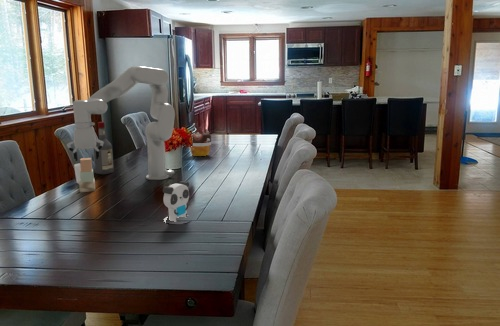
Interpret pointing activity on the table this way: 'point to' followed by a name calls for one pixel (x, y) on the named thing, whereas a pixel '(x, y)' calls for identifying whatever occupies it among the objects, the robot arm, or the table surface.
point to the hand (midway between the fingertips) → (87, 159)
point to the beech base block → (87, 186)
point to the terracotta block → (86, 164)
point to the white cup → (77, 172)
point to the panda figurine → (176, 200)
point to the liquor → (103, 153)
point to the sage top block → (86, 176)
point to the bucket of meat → (201, 143)
